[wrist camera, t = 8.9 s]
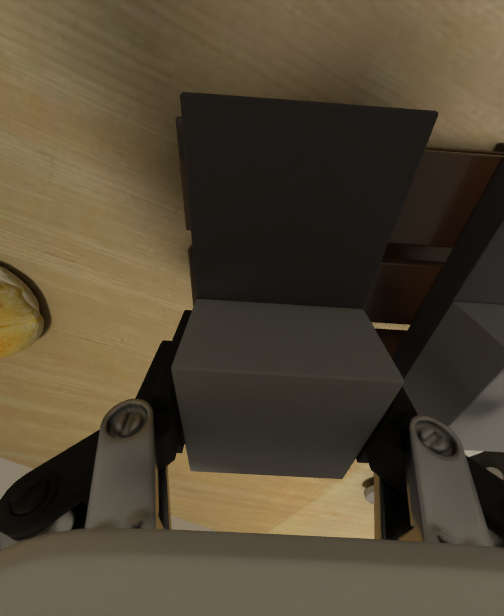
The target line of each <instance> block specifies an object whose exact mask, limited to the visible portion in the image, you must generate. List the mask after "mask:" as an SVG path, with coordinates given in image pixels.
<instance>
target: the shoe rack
mask: <svg viewBox="0 0 504 616" xmlns="http://www.w3.org/2000/svg"><path fill="white" fill-rule="evenodd" d="M176 128H177V139H178V149H179V159H180V170H181V180H182V191H183V202H184V213H185V223H186V229H187V230H191V223H190V211H189V199H188V187H187V174H186V162H185V150H184V138H183V125H182V117H176ZM503 157H504V143H498V144H497V146H496V148H495V149H494V151H481V150H467V149H453V148H440V147H425V150H424V153H423V155H422V158H421V160H420V163H419V165H418V168H417V171H416V173H415V176H414V178H413V181H412V183H411V186H410V189H409V191H408V194H407V196H406V199H405V201H404V204H403V206H402V209H401V212H400V214H399V217H398V219H397V222H396V224H395V227H394V230H393V232H392V235H391V237H390V240H389V242H388V245H387V248H386V250H385V253H384V255H383V258H382V260H381V263H380V266H379V268H378V271H377V273H376V276H375V278H374V281H373V284H372V286H371V289H370V291H369V294H368V296H367V299H366V301H365V304H364V307H363V310H364V311H365V313H366V315H367V316H368V318H369V320H370V322H377V323H393V324H409V325H411V323H412V322H413V320H414V318H415V316H416V314H417V313H418V311H419V309H420V307H421V305H422V304H423V302H424V300H425V298H426V296H427V295H428V293H429V291H430V289H431V287H432V286H433V284H434V282H435V280H436V278H437V276H438V275H439V273H440V271H441V269H442V267H443V266H444V264H445V262H446V260H447V258H448V257H449V255H450V253H451V251H452V249H453V248H454V246H455V244H456V242H457V240H458V239H459V237H460V235H461V233H462V231H463V229H464V228H465V226H466V224H467V222H468V220H469V219H470V217H471V215H472V213H473V211H474V210H475V208H476V206H477V204H478V202H479V201H480V199H481V197H482V195H483V193H484V192H485V190H486V188H487V186H488V184H489V183H490V181H491V179H492V177H493V175H494V173H495V172H496V170H497V168H498V166H499V164H500V163H501V161H502V159H503ZM188 255H189V266H190V277H191V287H192V298H193V307H194V304H195V301H196V299H197V297H196V285H195V272H194V260H193V248H192V245H191V246H190V248H189V250H188ZM375 330H376V332H377V334H378V336H379V337H380V339H381V341H382V343H383V344H384V346H385V348H386V350H387V351H388V353H389V355H390V356H391V358H393V356H394V354H395V352H396V351H397V349H398V347H399V345H400V343H401V342H402V340H403V338H404V336H405V334H406V332H407V330H390V329H375Z"/></svg>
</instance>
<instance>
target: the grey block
mask: <svg viewBox="0 0 504 616" xmlns="http://www.w3.org/2000/svg"><path fill="white" fill-rule="evenodd" d="M392 360H393V362H394V363H395V365H396V367H397V369H398V370H399V372H400V374H401V376H402V377H403V379H404V384H403V388H404V390H405V392H406V393H407V395H408V397H409V399H410V401H411V402H412V404H413V406H414V408H415V410H416V411H417V413H418V415H427V416H431V417H433V418H436V419H438V420H440V421H441V422H443V423H444V424H446V425H447V426H448V427H449V428H450V429H452V430H453V431H454V432H455V434H456V435H457V436H458V438H459V439H460V441H461V443H462V446H463V449H464V450H473V451H492V452H504V157H503V159H502V161H501V163H500V164H499V166H498V168H497V170H496V172H495V173H494V175H493V177H492V179H491V181H490V183H489V184H488V186H487V188H486V190H485V192H484V193H483V195H482V197H481V199H480V201H479V202H478V204H477V206H476V208H475V210H474V211H473V213H472V215H471V217H470V219H469V220H468V222H467V224H466V226H465V228H464V229H463V231H462V233H461V235H460V237H459V239H458V240H457V242H456V244H455V246H454V248H453V249H452V251H451V253H450V255H449V257H448V258H447V260H446V262H445V264H444V266H443V267H442V269H441V271H440V273H439V275H438V276H437V278H436V280H435V282H434V284H433V286H432V287H431V289H430V291H429V293H428V295H427V296H426V298H425V300H424V302H423V304H422V305H421V307H420V309H419V311H418V313H417V314H416V316H415V318H414V320H413V322H412V323H411V325H410V327H409V329H408V331H407V332H406V334H405V336H404V338H403V340H402V342H401V343H400V345H399V347H398V349H397V351H396V352H395V354H394V356H393V358H392Z"/></svg>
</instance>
